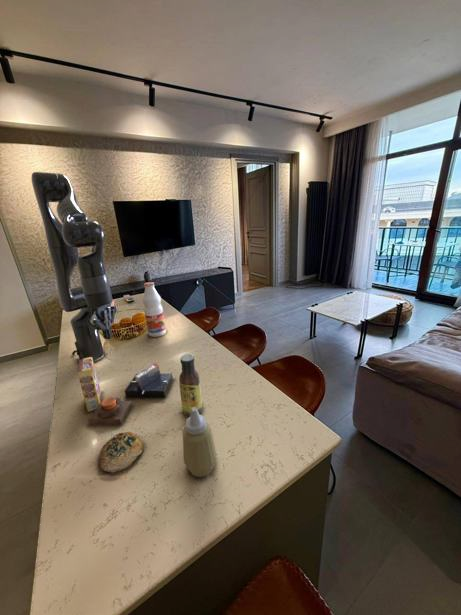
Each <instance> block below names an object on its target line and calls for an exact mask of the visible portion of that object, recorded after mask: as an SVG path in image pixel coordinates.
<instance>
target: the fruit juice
mask: <svg viewBox="0 0 461 615" xmlns="http://www.w3.org/2000/svg"><path fill="white" fill-rule="evenodd" d="M143 286H144V293H143V297H142V304H143V306H144V308H143V312H144V317H145V323H146V324H145V325H146V328H147V334H148V336H149V337H152V338H157V337H162V336H164V335H165V334H166V333H167V328H166V320H165V314H164V308H163V306H162V297H161V295H160V294H159V293H158V291H157V290H156V288H155V282H154V281H148V282H145V283H143Z"/></svg>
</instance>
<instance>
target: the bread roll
mask: <svg viewBox="0 0 461 615" xmlns="http://www.w3.org/2000/svg"><path fill="white" fill-rule="evenodd" d="M143 450H144V443H143V441H142V439H141V438H140V437H139V435H137V433H134V432H131V431H125V432H124V431H122V432H120V433H117V434H115V435H114V436H112V437H111V438H110V439H109V440H107V441H106V442H105V444H103V446H102V448H101V449H100V452H99V457H98V458H99V459H98V463H99V466H100V468H101V469H102V471H104V472H105V473H106V472H107V473H112V474H114V473H115V472H119V471H121V470H124V469H127V468H128V467H130V466H131V465H132V464H133V462H134V461H135V460H136V459H137V458H138V456H139V455H141V454H142V452H143Z"/></svg>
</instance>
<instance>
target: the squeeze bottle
mask: <svg viewBox="0 0 461 615" xmlns="http://www.w3.org/2000/svg"><path fill="white" fill-rule="evenodd" d="M182 447H183V448H182V449H183V450H182V452H183V464H184V465H185V467H186V468H187V469H188V471H189V472H190V473H191V475H192V476H194V477H195V478H196V477H197V478H203V477H206V476H208V475H209V474H210V473H211V472H212V470H213V469H214V465H215V462H216V460H217V449H216V445H215V441H214V437H213V432H212V428H211V425H210V423H209V422H207V420H206V418H205V416H204V415H202V414H200V413H198V411H197V408H196V407H193V408H192V409H191V416H188V418H187V419H186V421H185V427H183V431H182Z"/></svg>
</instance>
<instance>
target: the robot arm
mask: <svg viewBox="0 0 461 615" xmlns="http://www.w3.org/2000/svg"><path fill="white" fill-rule="evenodd" d="M31 184H32V188H33V192H34V196H35V200H36V202H37V205H38V209H39V213H40V216H41V220H42V223H43V228H44V233H45V238H46V243H47V248H48V252H49V256H50V260H51V264H52V267H53V271H54V276H55V280H56V281H55V282H56V289H57V295H58V301H59V304H60V307H61V308H62V310H63V311H64V312H66V313H72V312H76V311H78V312H77V313H76V315H74V316H73V317H72V318H71V319H70V325H71V328H72V332H73V335H74V337H75V341H74V346H75V350H73V351H72V353H71V355H72V356H75V354H76V355H77V356H78V359H79V360H81V359H85V358H89V357H92V359H93V363H94V362H98V361H100V360H102V359H104V357H105V355H106V354H105V351H104V346H103V343H102V339H101V336H100V333H99V331H101V333H102V336H103V340H111V339H112V338H113V332H112V324H115V323H114V322H115V316H116V311H117V310H116V309H117V307H116V306H115V305H114V306H111V302H112V300H114V299H113V295H112V291H111V285H110V281H109V278H108V276H107V272H106V267H105V263H104V262H105V261H104V244H105V231H104V230H105V229H104V228H103V226H102V225H101V224H100V223H99V222H98V221H97V220H89V218H88V215H87V214H86V212H84V210H83V208H82V207H81V204H80V203H79V201H78V197H77V195H76V192H75V190H74V187H73V185H72V182H71V180H70V179H69V177H68V176H67V175H65V174H62V173H55V172H44V171H43V172H42V171H33V172H32V174H31ZM50 203H57V205H56V214H57V216H58V217H57V216H56V215H55V213H54V212H53V210H52V208H51V205H50ZM58 218H59V219H58ZM88 247H91V250H90V251H89V252H88V253H86V254H83V255H80V254H79V249H80V248H88ZM79 255H80V256H79ZM76 267H77V268H78V272H79V276H80V283H81V285H79V286H75V287H71V278H72V275H73V272H74V270H75V269H76Z"/></svg>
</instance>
